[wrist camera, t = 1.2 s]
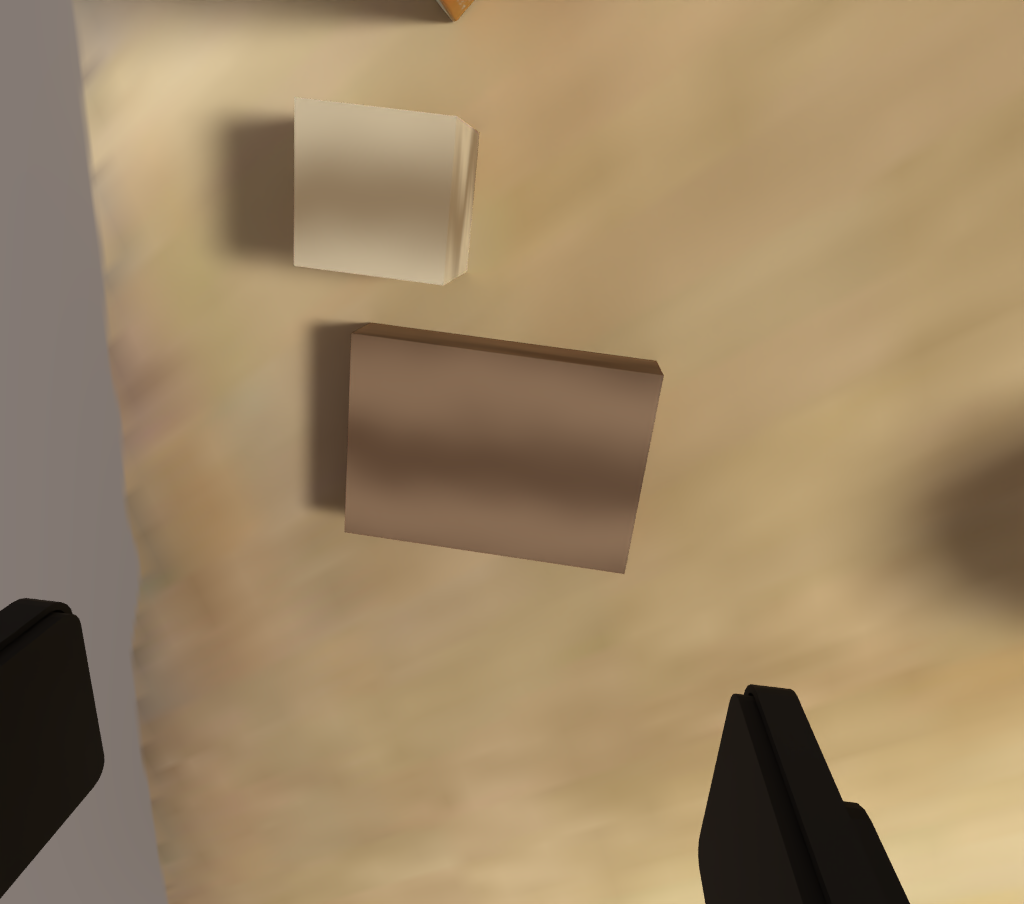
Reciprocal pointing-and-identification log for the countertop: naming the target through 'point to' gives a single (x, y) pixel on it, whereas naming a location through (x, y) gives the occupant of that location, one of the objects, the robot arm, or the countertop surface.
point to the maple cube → (382, 191)
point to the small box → (454, 7)
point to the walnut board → (497, 445)
